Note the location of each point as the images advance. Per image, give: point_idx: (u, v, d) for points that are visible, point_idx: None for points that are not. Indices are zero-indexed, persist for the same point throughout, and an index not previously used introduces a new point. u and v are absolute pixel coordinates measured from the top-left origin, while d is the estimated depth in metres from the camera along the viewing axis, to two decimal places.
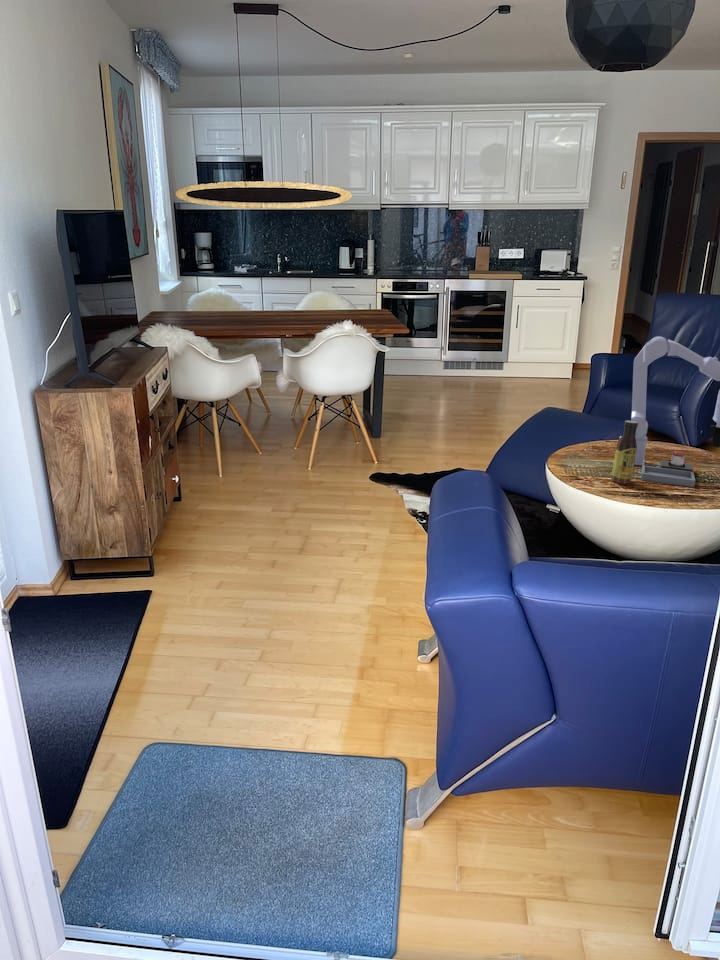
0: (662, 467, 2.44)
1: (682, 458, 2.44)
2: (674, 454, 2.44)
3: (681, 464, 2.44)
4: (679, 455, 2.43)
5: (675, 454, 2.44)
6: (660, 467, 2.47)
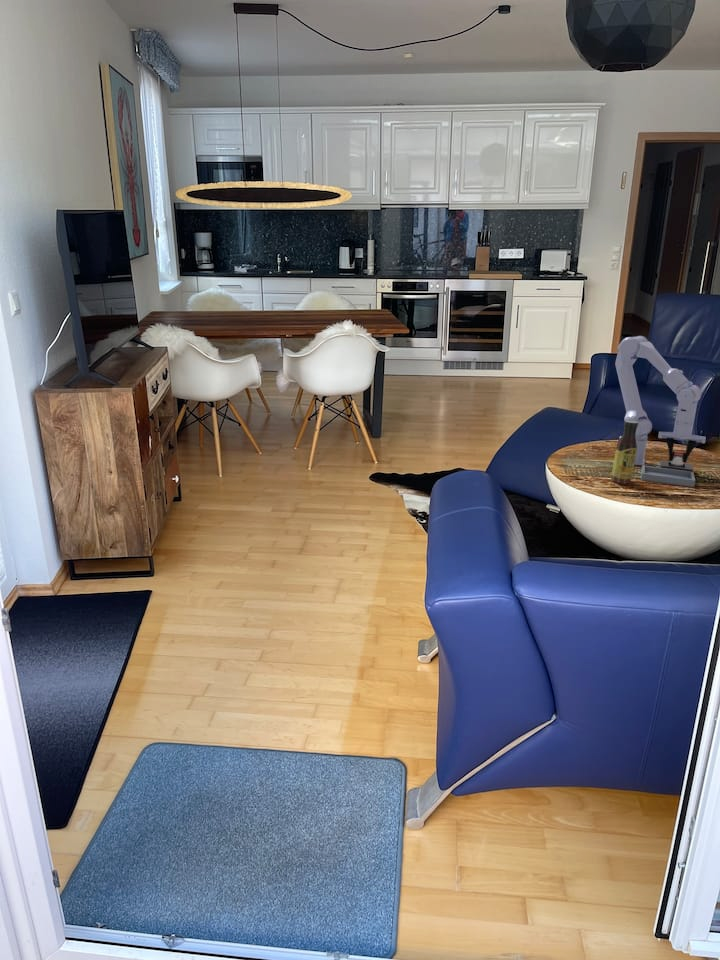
0: (662, 467, 2.44)
1: (682, 458, 2.44)
2: (674, 454, 2.44)
3: (681, 464, 2.44)
4: (679, 455, 2.43)
5: (675, 454, 2.44)
6: (660, 467, 2.47)
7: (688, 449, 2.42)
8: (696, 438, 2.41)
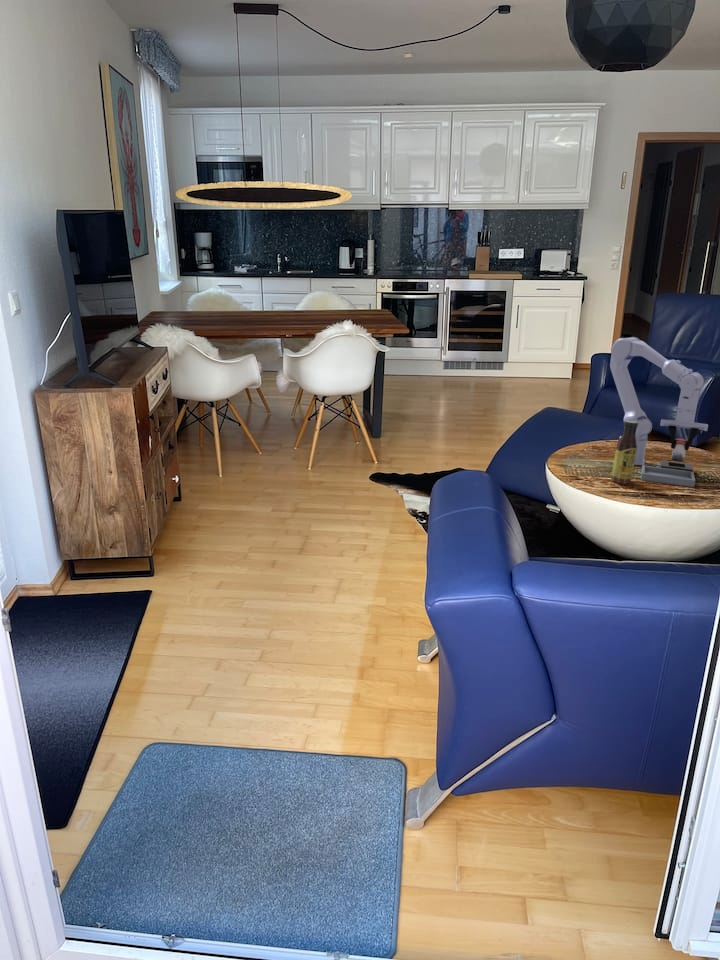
0: (662, 467, 2.44)
1: (684, 446, 2.43)
2: (676, 442, 2.43)
3: (684, 451, 2.43)
4: (681, 443, 2.42)
5: (677, 442, 2.43)
6: (660, 467, 2.47)
7: (690, 437, 2.41)
8: (698, 426, 2.39)
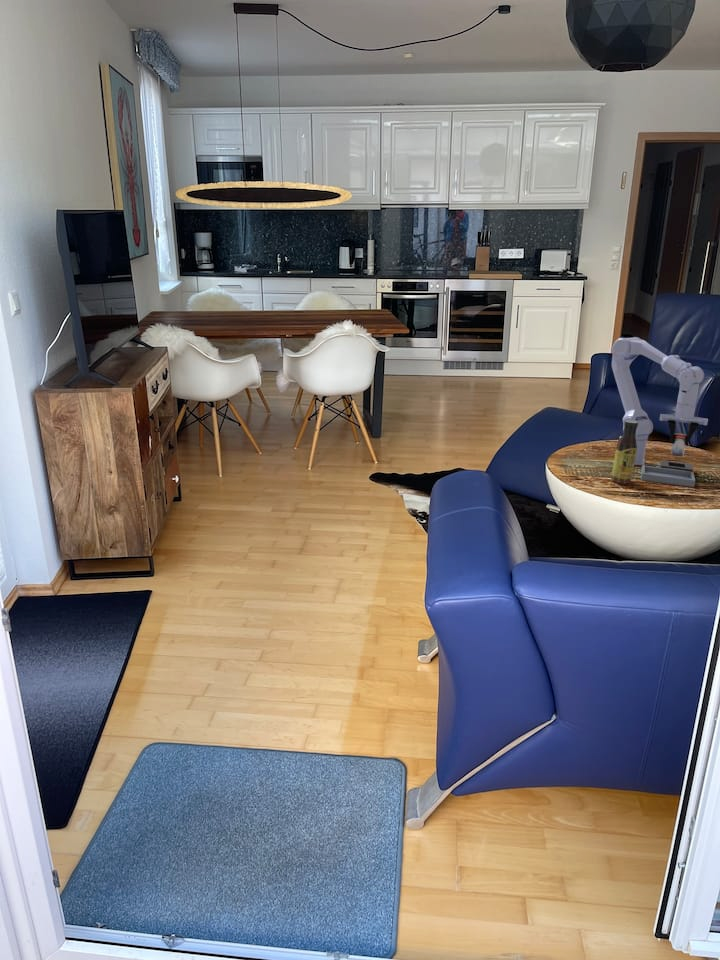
0: (662, 467, 2.44)
1: (684, 440, 2.40)
2: (676, 437, 2.41)
3: (683, 446, 2.41)
4: (681, 437, 2.40)
5: (677, 436, 2.40)
6: (660, 467, 2.47)
7: (690, 431, 2.38)
8: (698, 420, 2.37)
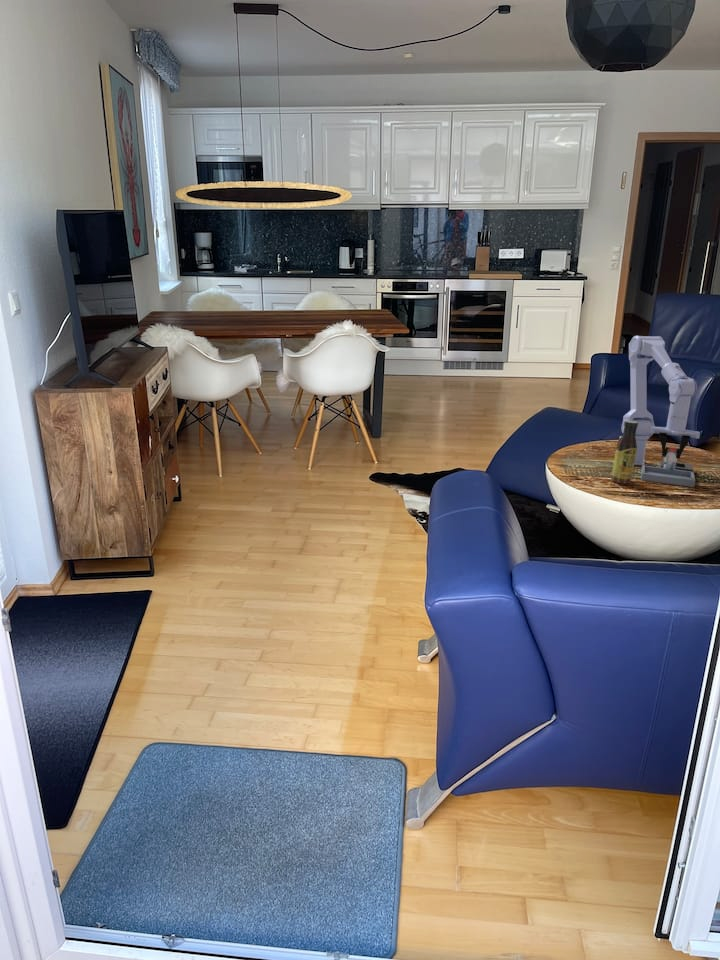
0: None
1: (675, 454, 2.34)
2: (667, 450, 2.35)
3: (675, 460, 2.35)
4: (672, 451, 2.34)
5: (668, 450, 2.34)
6: (660, 467, 2.47)
7: (682, 444, 2.32)
8: (690, 433, 2.31)
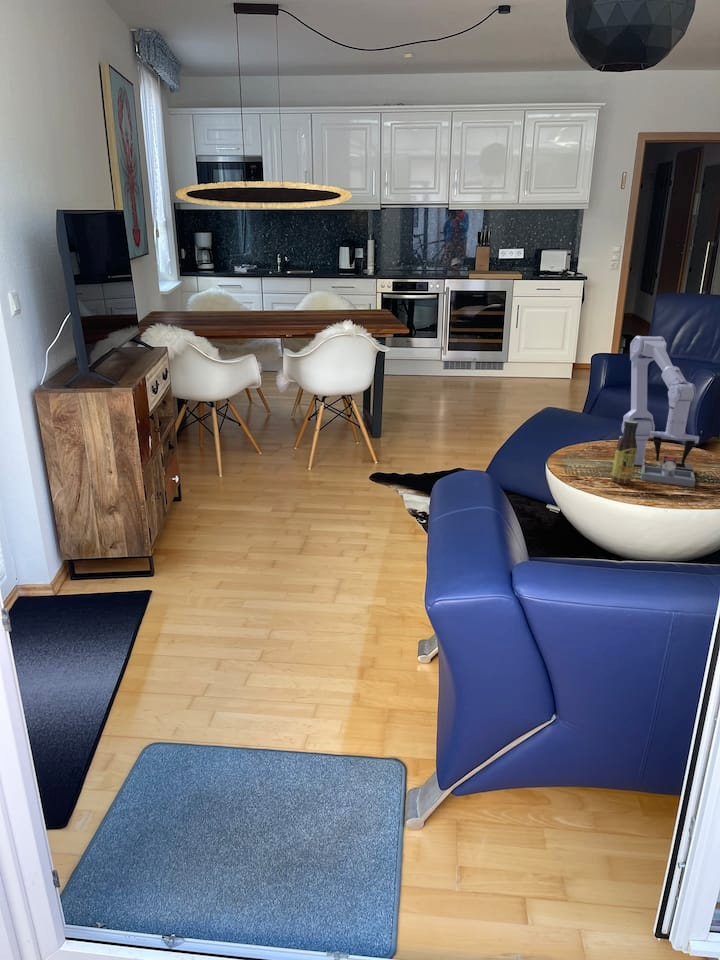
0: None
1: (674, 463, 2.35)
2: (665, 459, 2.35)
3: (673, 469, 2.35)
4: (670, 460, 2.34)
5: (666, 459, 2.35)
6: (660, 467, 2.47)
7: (686, 450, 2.32)
8: (689, 438, 2.31)
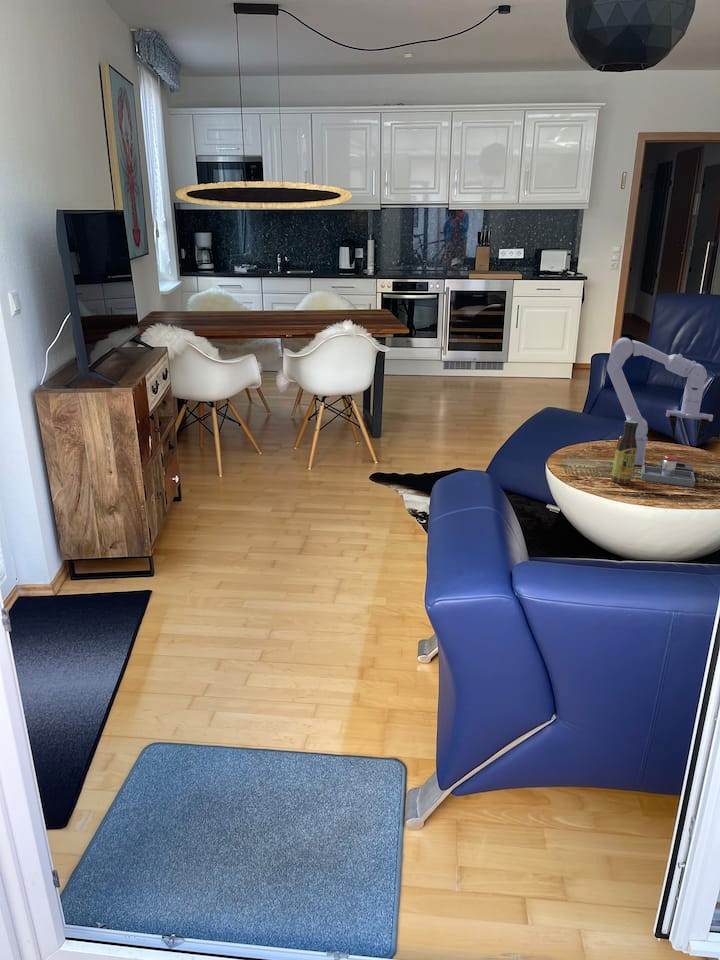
0: None
1: (674, 463, 2.35)
2: (665, 459, 2.35)
3: (673, 469, 2.35)
4: (670, 460, 2.34)
5: (666, 459, 2.35)
6: (660, 467, 2.47)
7: (700, 427, 2.45)
8: (703, 416, 2.44)
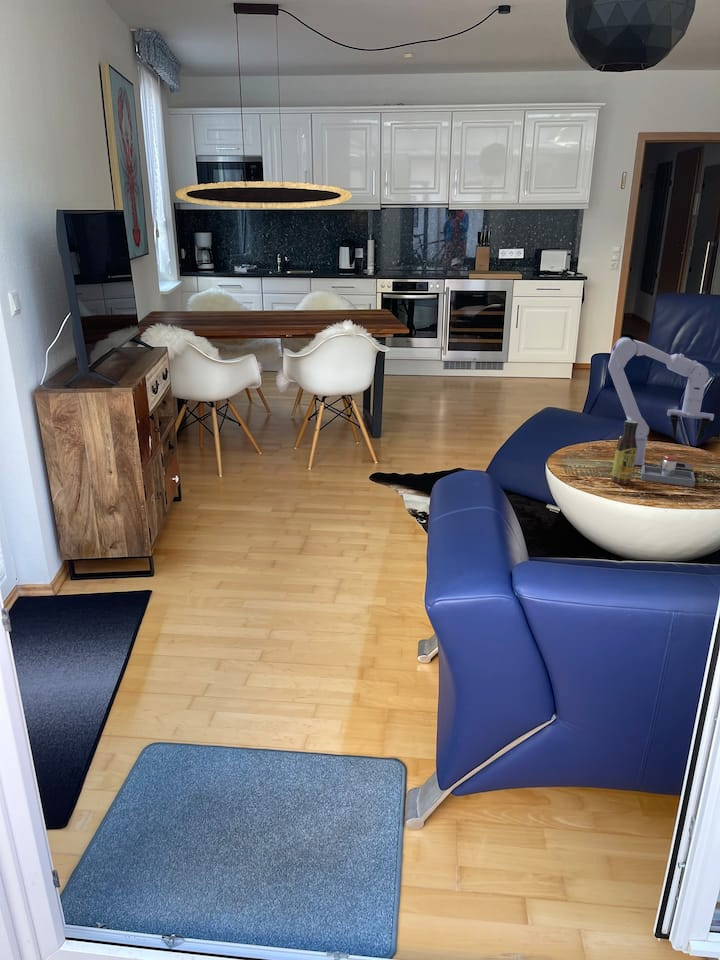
0: None
1: (674, 463, 2.35)
2: (665, 459, 2.35)
3: (673, 469, 2.35)
4: (670, 460, 2.34)
5: (666, 459, 2.35)
6: (660, 467, 2.47)
7: (701, 427, 2.46)
8: (704, 415, 2.45)
